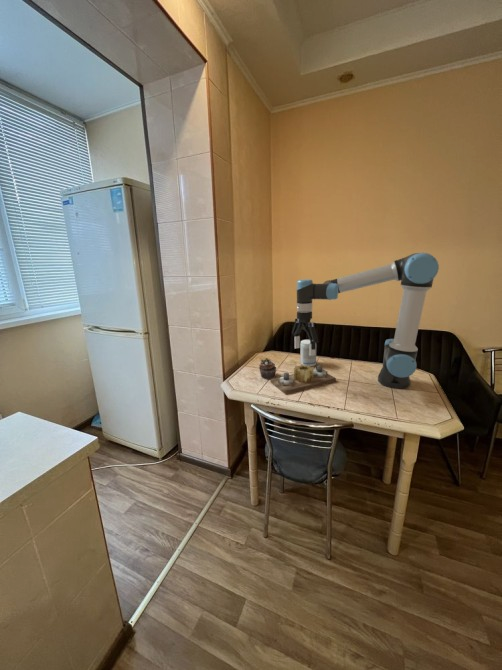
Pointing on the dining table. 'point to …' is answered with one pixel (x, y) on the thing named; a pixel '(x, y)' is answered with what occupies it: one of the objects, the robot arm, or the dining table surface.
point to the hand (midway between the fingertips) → (304, 351)
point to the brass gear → (303, 373)
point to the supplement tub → (307, 353)
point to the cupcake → (267, 369)
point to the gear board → (291, 385)
